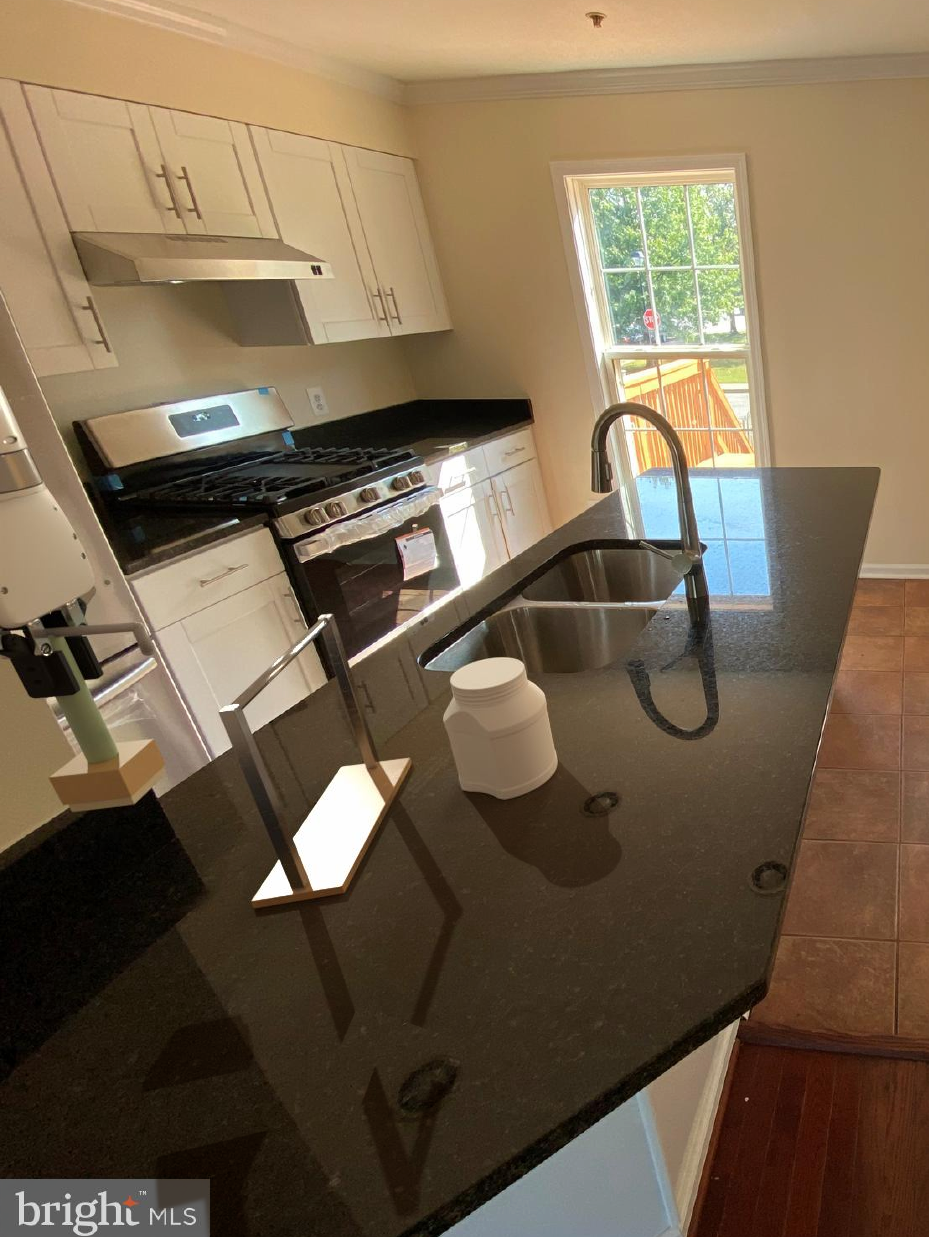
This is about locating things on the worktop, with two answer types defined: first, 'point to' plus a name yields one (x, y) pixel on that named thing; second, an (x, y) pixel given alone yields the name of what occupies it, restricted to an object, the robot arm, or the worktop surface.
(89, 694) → the hook stand
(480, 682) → the jar
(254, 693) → the metal frame rack
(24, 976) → the worktop surface
